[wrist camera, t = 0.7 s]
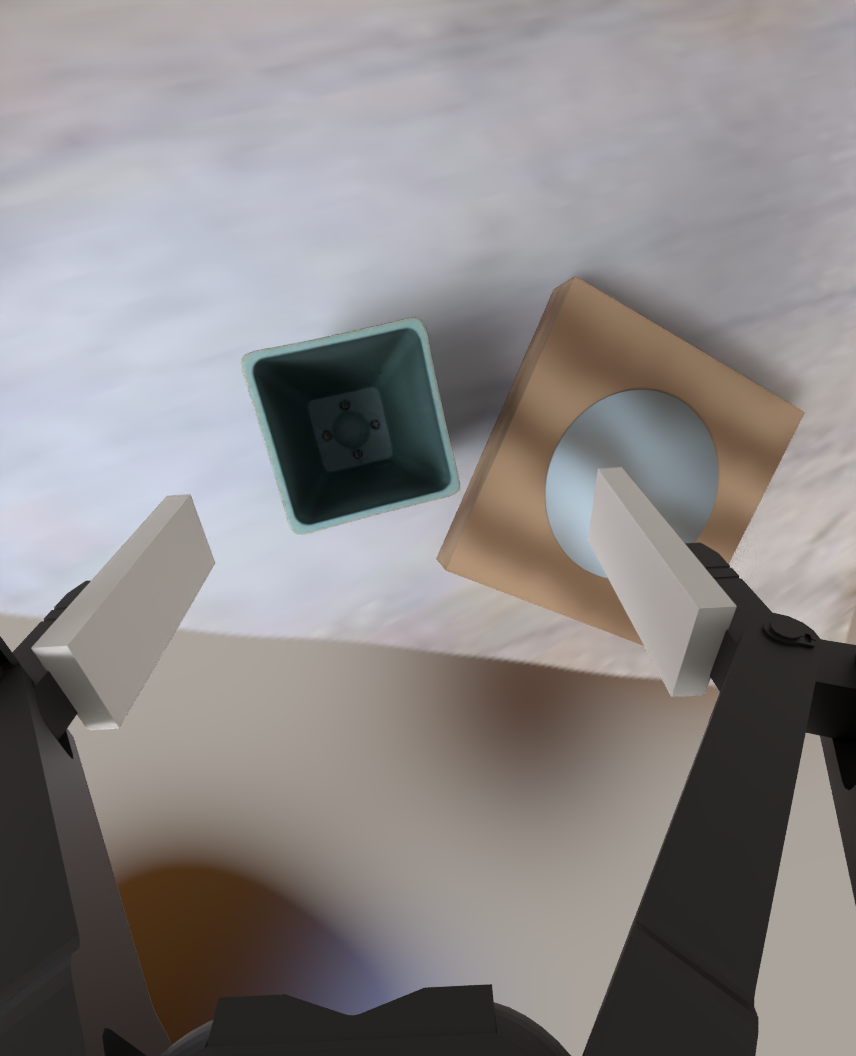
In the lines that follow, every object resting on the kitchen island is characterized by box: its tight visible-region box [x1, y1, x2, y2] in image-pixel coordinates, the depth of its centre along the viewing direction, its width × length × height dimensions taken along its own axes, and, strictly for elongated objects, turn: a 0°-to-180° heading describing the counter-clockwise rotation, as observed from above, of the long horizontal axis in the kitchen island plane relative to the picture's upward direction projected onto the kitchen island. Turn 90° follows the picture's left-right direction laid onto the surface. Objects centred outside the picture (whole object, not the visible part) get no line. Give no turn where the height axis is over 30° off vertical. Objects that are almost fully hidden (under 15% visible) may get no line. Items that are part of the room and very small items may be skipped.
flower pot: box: [241, 318, 460, 534], centre depth 28 cm, size 9×9×9 cm
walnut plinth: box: [437, 276, 805, 646], centre depth 35 cm, size 20×20×3 cm
